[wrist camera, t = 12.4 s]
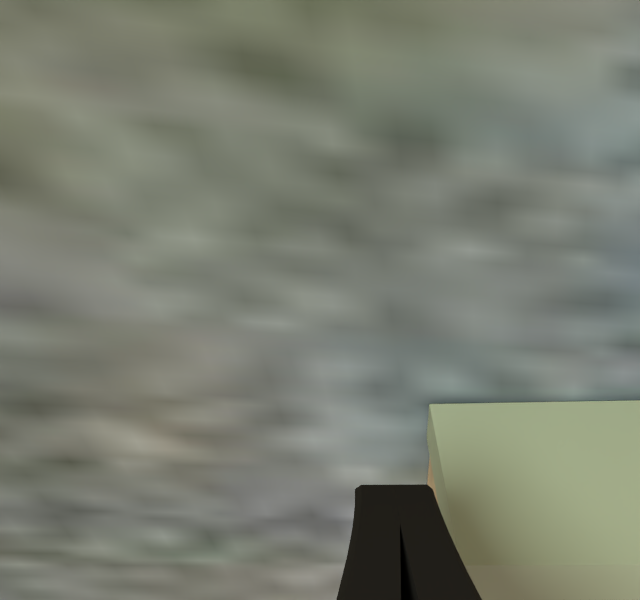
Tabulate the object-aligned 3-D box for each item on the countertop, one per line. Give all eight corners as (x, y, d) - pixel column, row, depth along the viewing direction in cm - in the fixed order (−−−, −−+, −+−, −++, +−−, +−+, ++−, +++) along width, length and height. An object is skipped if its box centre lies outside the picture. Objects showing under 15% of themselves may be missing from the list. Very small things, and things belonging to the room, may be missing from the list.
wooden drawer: (742, 578, 25) (841, 740, 20) (415, 580, 25) (434, 738, 20) (852, 396, 19) (1027, 561, 14) (429, 404, 20) (460, 565, 15)
